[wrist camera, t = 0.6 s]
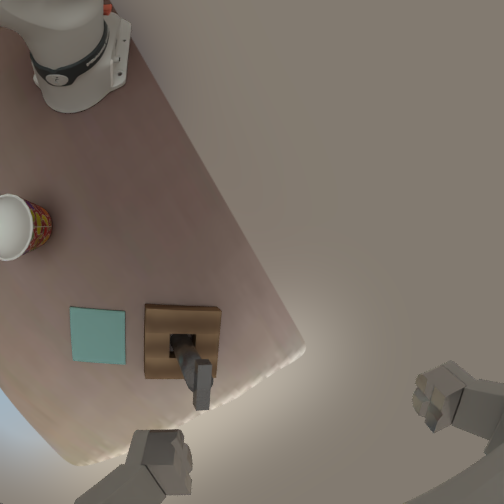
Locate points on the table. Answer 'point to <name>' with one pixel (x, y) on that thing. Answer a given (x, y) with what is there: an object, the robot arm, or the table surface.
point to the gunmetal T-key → (193, 370)
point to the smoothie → (21, 226)
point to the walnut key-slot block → (178, 322)
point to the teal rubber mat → (97, 335)
